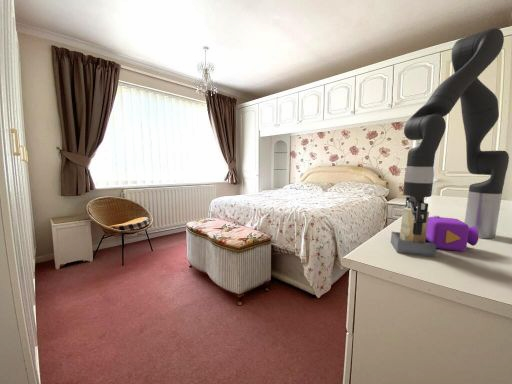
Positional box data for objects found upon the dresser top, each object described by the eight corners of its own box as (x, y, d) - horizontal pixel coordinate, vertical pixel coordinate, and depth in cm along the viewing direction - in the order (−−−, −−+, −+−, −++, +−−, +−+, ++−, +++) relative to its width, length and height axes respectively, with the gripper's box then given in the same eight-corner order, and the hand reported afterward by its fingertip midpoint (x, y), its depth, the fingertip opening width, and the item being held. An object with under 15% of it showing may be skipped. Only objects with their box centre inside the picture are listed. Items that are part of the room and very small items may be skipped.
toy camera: (485, 254, 72) (489, 224, 71) (435, 251, 75) (439, 221, 73) (461, 243, 82) (465, 215, 81) (419, 240, 85) (422, 213, 84)
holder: (390, 242, 82) (391, 231, 82) (423, 246, 79) (425, 234, 78) (397, 252, 73) (398, 240, 72) (434, 257, 69) (436, 244, 69)
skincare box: (398, 242, 79) (401, 207, 77) (410, 241, 79) (413, 207, 77) (412, 249, 72) (416, 211, 71) (425, 249, 73) (429, 211, 71)
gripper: (441, 183, 65) (435, 239, 67) (424, 179, 78) (419, 226, 80) (410, 182, 67) (405, 236, 70) (399, 179, 81) (395, 224, 83)
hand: (413, 231), depth 75 cm, fingers closed on skincare box, 7 cm apart
